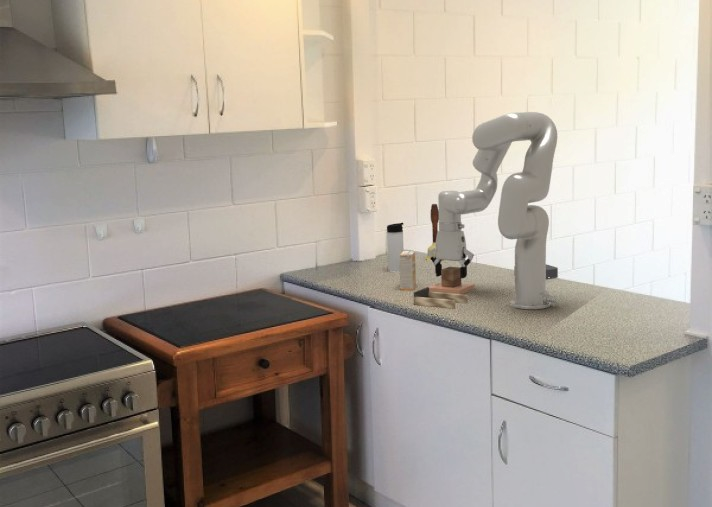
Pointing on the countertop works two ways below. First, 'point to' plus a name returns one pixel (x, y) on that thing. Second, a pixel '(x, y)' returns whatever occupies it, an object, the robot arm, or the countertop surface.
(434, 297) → the birch chute
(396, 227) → the travel mug
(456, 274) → the walnut block
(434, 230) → the handbell
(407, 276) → the supplement box
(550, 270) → the streaming box
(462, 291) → the terracotta tile
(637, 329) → the countertop surface
